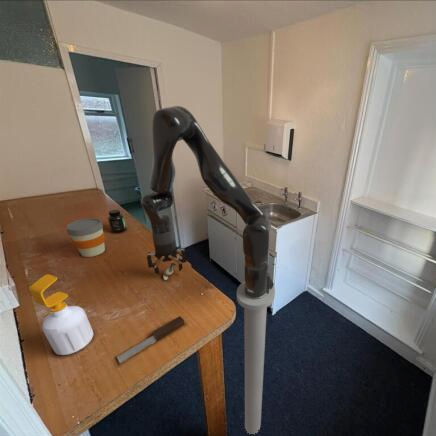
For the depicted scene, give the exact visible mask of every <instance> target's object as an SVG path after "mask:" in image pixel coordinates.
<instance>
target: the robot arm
mask: <svg viewBox="0 0 436 436" xmlns="http://www.w3.org/2000/svg"><path fill="white" fill-rule="evenodd" d="M151 134H152V135H151V136H152V137H151V138H152V139H151V140H152V166H151V173H150V178H149V188H150V190H151V191H152V192H150V193H146V194H144V195H143V196H142V197H141V200H140V205H141V207H142V209H143V211H144V212H145V215H146V216H147V218H148V220H149V221H150V222H149V223H150V227H151V233H152V234H151V235H152V241H153V246H154V247H153V248H154V253H152V252H150V251H149V252H147V254H146V260H147V267H148V269H152V268H153V270H154V274H156V276H159V275H160V267H159V265H161V264H162V263H166V262H172V261H173V262H174V263H177V264H178V265H177V266H178V271H179V272H182V270H183V268H184V267H183V263H187V256H186V250H185V248H184V247H181V248H180V249H177V245H176V240H175V239H176V238H175V233H174V230H173V223H172V218H171V216H170V215H169V214H168V213H159V212H161V211H164V210H167V209H169V208H171V207H172V205H173V204H174V201H175V199H174V191H173V186H174V182H175V177H176V167H175V163H174V160H173V154H174V150H175V147H176V145H177V143H178V142H180V141H182V140H183V142H184V143H185V144H186V145H187V147H188V148H189V149H190V151H191V152H192V154H193V156H194V157H195V159H196V162H197V167H198V170H199V173H200V177H201V179H202V181H203V183H204V184H205V186H206V187H207V188H208V189H209V191H211V193H212V194H213V195H214V196H215V198H217V199H218V200H219V201H220V202H221V203H223V204H225V205H226V206H228V207H230V208H232V210H234V211H235V212H236V213H237V214H238V215H239V216H240V218H241V219H242V221H243V222H244V224H245V225H244V228H243V231H242V252H243V256H244V281H245V290H244V292H245V295H246V296H247V297H248V298H250V299H261V298H263V297H264V296H266V294H269V288H270V289H272V288H273V286H274V287H275V283H274V282H273V280H272V278H271V275H270V272H269V267H270V265H269V264H270V250H269V249H270V235H271V230H272V223H271V221H270V219H269V217H268V216H266V214H265V213H264V212H263V211H262V210H261V209H260V208H259V207H258V205H256V203H255V202H254V201H253V200H252V198H251V197H250V196H249V194H248V193H247V191H246V190H245V189H244V187H243V186H242V185H241V183H240V182H239V180H238V178H237V177H236V175H234V173H233V172H232V170H231V169H230V168H229V167H228V166H227V164H226V162H224V160H223V159H222V158H221V156H220V155H219V153H218V152H217V150H216V149H215V148H214V146H213V144H212V143H211V142H210V141H209V139H208V138H207V136H206V134H205V132H204V131H203V129H202V127H201V126H200V124H199V122H198V121H197V119H196V118H195V116H194V115H193V114H192V113H191V111H190V110H188V109H187V108H186V107H183V106H181V105H173V106H168V107H162V108H160V109H157V110H156V111H155V112H154V113H153V115H152V119H151ZM178 254H179V255H181V257H182V258H181V257H179V256H178ZM154 257H155V258H156V260H155V262H153V261H152V260H153V259H154Z"/></svg>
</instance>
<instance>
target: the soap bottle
mask: <svg viewBox="0 0 436 436" xmlns="http://www.w3.org/2000/svg"><path fill="white" fill-rule="evenodd" d="M57 280H58V277H57V276H55V275H53V274H52V275H51V274H49V273H46V274H44V275H43V276H42V277H40V278H39V279H38V280H37V281H36V282H34V283H33V284H32V285H30V287H29V292H30V294H31V296H32V298H33V301H34V302H35V303H36V304H38V305H41V306H44V307H46V308H49V311H50V313H51V314H49V315H48V316H47V317H46V318H45V319H44V321H43V322H42V331H43V334H44V336H45V337H46V339H47V341H48V343H49V345H50V346H51V348H52V351H54V353H55V354H56V355H60V356H67V355H71V354H74V353H77V352H79V351H81V350H82V349H83V348H85V347H87V345H89V344H90V343H91V341H92V340H93V337H94V330H93V328H92V326H91V323H90V321H89V318H88V315H87V313H86V311H85V309H83V308H82V307H81V306H79V305H68V304H67V303H66V302H65V301H64V300H66V299H67V298H68V297H69V294H68V293H65V292H63V291H56V292H55V293H53V294H51V295H49V296H48V297H46V298H45V297H44V292H45V291H46V289H48V288H49V287H50V286H52V285H53V284H54V283H55V282H56V281H57Z"/></svg>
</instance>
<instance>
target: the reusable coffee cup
mask: <svg viewBox="0 0 436 436" xmlns="http://www.w3.org/2000/svg"><path fill="white" fill-rule="evenodd" d="M103 228H104V225H103V223H102V220H101V219H99V218H96V217H95V218H93V217H92V218H82V219H78V220H74V221H72V222H71V223H68V224H67V226H66V231H67V232H66V233H67V235H68V236H70V240H71V242H72V244H73V246H74V247H75V248H76V249H77V250H78V251H79V254H80V255H81V256H82V257H84V258H92V257H96V256H98V255H101V254H103V253H104V252H105V251H106V245H105V242H106V236H105V230H104V229H103Z"/></svg>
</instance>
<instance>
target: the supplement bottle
mask: <svg viewBox="0 0 436 436" xmlns="http://www.w3.org/2000/svg"><path fill="white" fill-rule="evenodd" d="M108 215H109V216H108V217H107V220H108V224H109V227H110V230H111V232H112V234H121V233H124V232H125V231H127V226H126V221H125V217H124V215H123V214H121V211H120V210H119V209H112V210H111V209H110V210H109V211H108Z"/></svg>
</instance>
